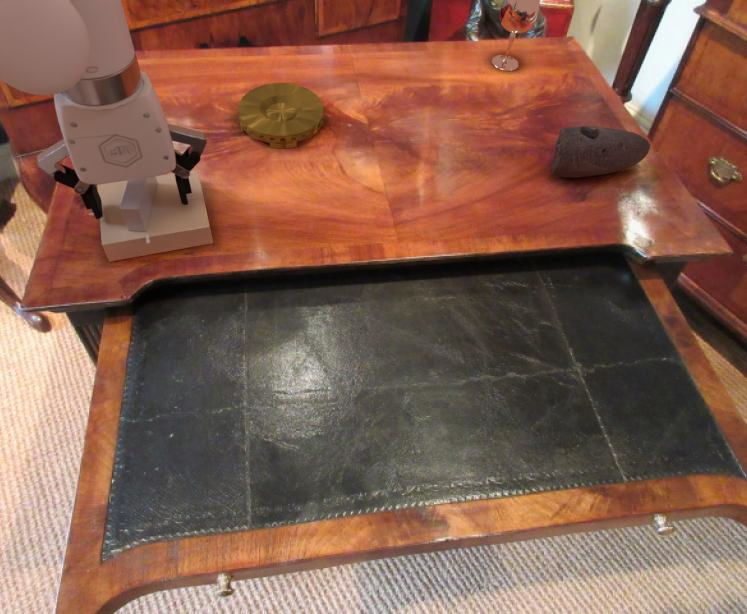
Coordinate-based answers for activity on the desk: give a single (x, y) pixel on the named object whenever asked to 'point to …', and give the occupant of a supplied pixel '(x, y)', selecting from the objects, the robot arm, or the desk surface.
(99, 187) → the tap plate
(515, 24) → the wineglass
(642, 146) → the perforated stone tool
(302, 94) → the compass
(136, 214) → the grey rectangular block
